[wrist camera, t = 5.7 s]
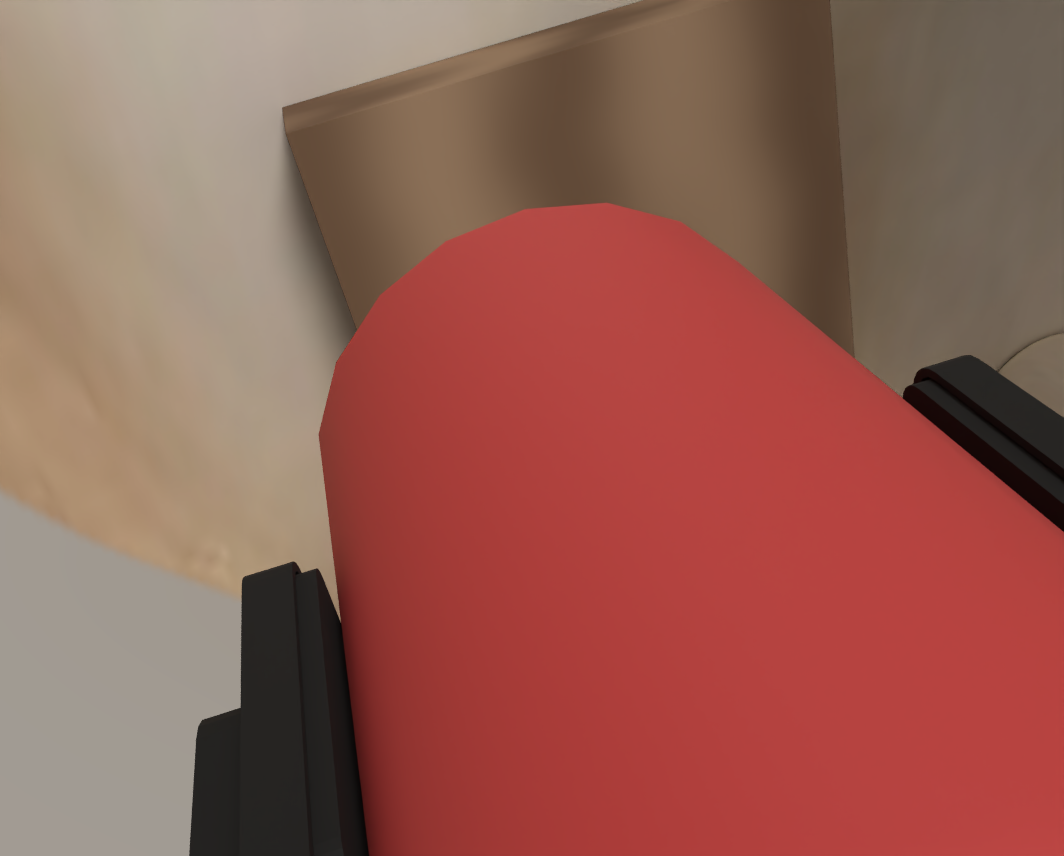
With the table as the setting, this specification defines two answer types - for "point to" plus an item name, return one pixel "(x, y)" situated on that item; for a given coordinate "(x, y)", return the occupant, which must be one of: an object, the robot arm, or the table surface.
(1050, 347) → the beer glass
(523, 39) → the walnut base
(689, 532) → the beer can
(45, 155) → the table surface
